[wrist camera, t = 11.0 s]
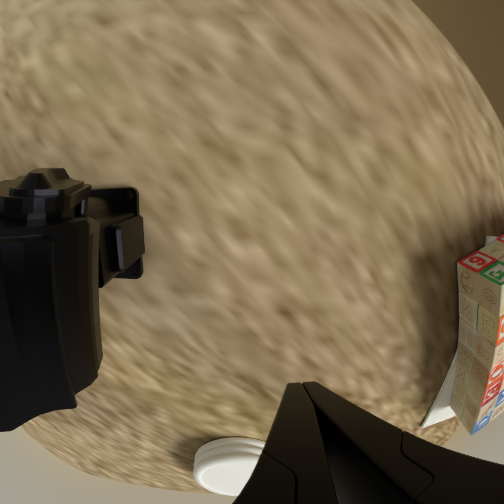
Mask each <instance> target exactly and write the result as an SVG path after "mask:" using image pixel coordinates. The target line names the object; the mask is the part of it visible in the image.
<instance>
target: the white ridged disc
mask: <svg viewBox="0 0 504 504" xmlns="http://www.w3.org/2000/svg"><path fill="white" fill-rule="evenodd" d="M264 445H265V442H264V441H261V440H257V439H252V438H244V437H230V438H222V439H217V440H213V441H210V442H208V443H206V444H204V445H202V446H201V447H200V448H199V449H198V450H197V452H196V454H195V461H194V469H193V477H194V479H195V481H196V482H197V483H198V484H199V485H201V486H202V487H204V488H205V489H207V490H209V491H212V492H215V493H218V494H223V495H230V496H238V495H239V494H240V492H241V491H242V489H243V488H244V486H245V484H246V483H247V481H248V480H249V478H250V476H251V474H252V472H253V470H254V468H255V466H256V464H257V461H258V459H259V457H260V454H261V453H262V450H263V447H264Z"/></svg>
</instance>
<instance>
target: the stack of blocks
mask: <svg viewBox="0 0 504 504" xmlns="http://www.w3.org/2000/svg"><path fill="white" fill-rule="evenodd" d="M457 271H458V288H459V317H460V318H459V340H458V351H457V360H456V369H455V379H454V384H453V395H452V400H451V405H450V407H451V409H452V410H453V412H454V413H455V414H456V416H457V417H458V418H459V420H460V421H461V422H462V424H463V425H464V427H465V428H466V429H467V431H468V432H469V433H470V435H473V434H474V433H475V432H477V431H478V430H479V429H481V428H482V427H483V426H485V425H486V424H488V423H489V422H490V421H491V420H493V419H494V418H495V417H497V416H498V415H499V414H500V413H501V412H503V411H504V234H503V235H501V236H500V237H498V238H497V239H496V240H494V241H493V242H491V243H490V244H488V245H486V246H485V247H483V248H481V249H480V250H479V251H478V250H477V251H475V252H474V253H472V254H470V255H469V256H467V257H465V258H463V259H461V260H459V261H458V262H457Z"/></svg>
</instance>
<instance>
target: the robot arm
mask: <svg viewBox="0 0 504 504" xmlns="http://www.w3.org/2000/svg"><path fill="white" fill-rule="evenodd" d="M130 191H131V192H133V197H132V198H130V197H129V192H130ZM144 253H145V246H144V231H143V218H142V217H141V215H139V193H138V190H137V189H136V188H133V187H129V188H113V189H100V190H91V185H89V184H84V181H78V180H72V179H70V177H69V176H68V174H67V172H66V171H65V169H64V168H40V169H35V170H33V171H31V172H29V173H28V174H27V176H19V177H17V178H16V179H15V180H5V181H1V183H0V432H5V431H12V430H14V429H16V428H17V427H19V426H21V425H22V424H24V423H26V422H27V421H29V420H31V419H32V418H34V417H36V416H38V415H41V414H44V413H48V412H51V411H54V410H63V409H74V408H76V407H77V402H76V398H75V394H77V393H78V392H80V391H82V390H83V389H85V388H86V387H88V386H90V385H91V384H92V383H93V382H94V381H95V379H96V378H97V377H98V369H99V367H100V364H101V361H102V358H103V352H102V342H101V330H100V315H99V288H102V287H103V286H105V285H106V284H107V283H108V282H109V281H110V280H111V279H112V278H126V279H138V278H140V277H141V276H142V274H143V262H142V255H143V254H144ZM134 269H137V270H138V272H139V273H138V274H136V273H135V272H134ZM232 504H504V465H502V464H498V463H494V462H490V461H486V460H482V459H479V458H475V457H472V456H468V455H465V454H461V453H458V452H455V451H452V450H449V449H446V448H443V447H441V446H438V445H435V444H433V443H430V442H428V441H426V440H423V439H421V438H419V437H417V436H415V435H413V434H410V433H408V432H406V431H403V430H401V429H399V428H397V427H396V426H394V425H392V424H390V423H388V422H386V421H384V420H382V419H380V418H378V417H376V416H375V415H373V414H371V413H369V412H367V411H365V410H364V409H362V408H360V407H358V406H357V405H355V404H353V403H351V402H349V401H348V400H346V399H344V398H343V397H341V396H339V395H337V394H336V393H334V392H332V391H331V390H329V389H327V388H326V387H324V386H322V385H321V384H319V383H317V382H315V381H312V382H303V383H302V384H301V383H299V382H298V383H288V384H287V386H286V389H285V391H284V394H283V397H282V400H281V403H280V406H279V408H278V411H277V414H276V416H275V419H274V422H273V424H272V427H271V430H270V432H269V435H268V437H267V440H266V442H265V445H264V447H263V450H262V453H261V454H260V457H259V459H258V461H257V464H256V466H255V468H254V470H253V472H252V474H251V476H250V478H249V480H248V481H247V483H246V484H245V486H244V488H243V489H242V491H241V492H240V494H239V495H238V497H237V498H236V499H235V501H234V502H233V503H232Z"/></svg>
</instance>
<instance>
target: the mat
mask: <svg viewBox="0 0 504 504" xmlns="http://www.w3.org/2000/svg"><path fill="white" fill-rule="evenodd" d="M497 238H498V237H493V236H486V243H485V246H486V245H488V244H490V243H491V242H493V241H494V240H496V239H497ZM457 351H458V348H457ZM457 351H456V354H455V356H454V359H453V361H452V364H451V366H450V368H449V371H448V373H447V375H446V378H445V380H444V382H443V384H442V386H441V388H440V391H439V393H438V395H437V397H436V399H435V401H434V403H433V405H432V407H431V409H430V410H429V412H428V414H427V416H426V418H425V420H424V422H423V423H422V425H421V427H422V428H423V427H426V426H429V425H432V424H435V423H438V422H440V421H443V420H446V419H448V418H451V417H453V416H456V414H455V413H454V412H453V410H452V409H451V407H450V405H451V400H452V395H453V384H454V379H455V369H456V360H457Z"/></svg>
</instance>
